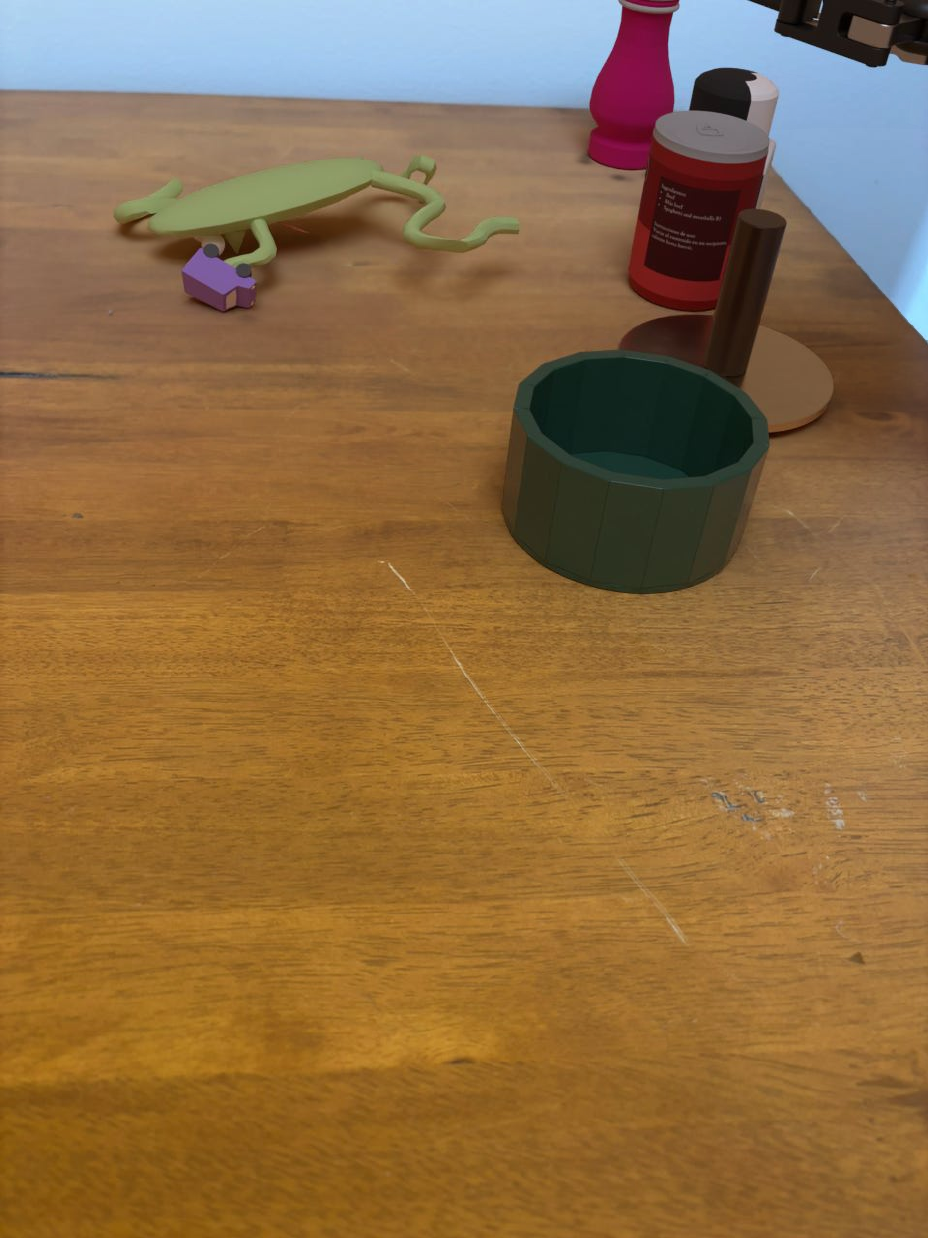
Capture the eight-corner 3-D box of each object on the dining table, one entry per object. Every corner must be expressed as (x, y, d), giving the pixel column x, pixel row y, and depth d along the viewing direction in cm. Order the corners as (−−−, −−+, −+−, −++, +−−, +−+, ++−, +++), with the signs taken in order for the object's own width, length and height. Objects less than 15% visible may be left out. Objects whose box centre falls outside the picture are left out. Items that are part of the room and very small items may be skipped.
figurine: (529, 304, 79) (539, 225, 75) (127, 327, 72) (116, 242, 68) (458, 196, 92) (464, 125, 88) (112, 207, 85) (102, 130, 81)
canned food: (697, 258, 86) (731, 106, 79) (753, 307, 81) (795, 149, 74) (606, 267, 84) (633, 111, 76) (658, 318, 78) (692, 156, 71)
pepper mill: (622, 136, 105) (664, -120, 92) (680, 162, 101) (733, -100, 88) (565, 149, 101) (601, -115, 88) (623, 178, 97) (670, -95, 84)
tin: (627, 428, 68) (647, 329, 63) (787, 542, 60) (822, 439, 56) (455, 491, 62) (464, 387, 57) (611, 626, 54) (634, 518, 50)
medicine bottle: (649, 246, 87) (680, 80, 79) (667, 212, 92) (698, 53, 84) (741, 265, 86) (783, 98, 78) (754, 230, 91) (795, 70, 83)
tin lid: (718, 313, 80) (756, 158, 73) (872, 404, 72) (932, 240, 65) (570, 360, 73) (595, 195, 66) (723, 466, 65) (770, 291, 58)
